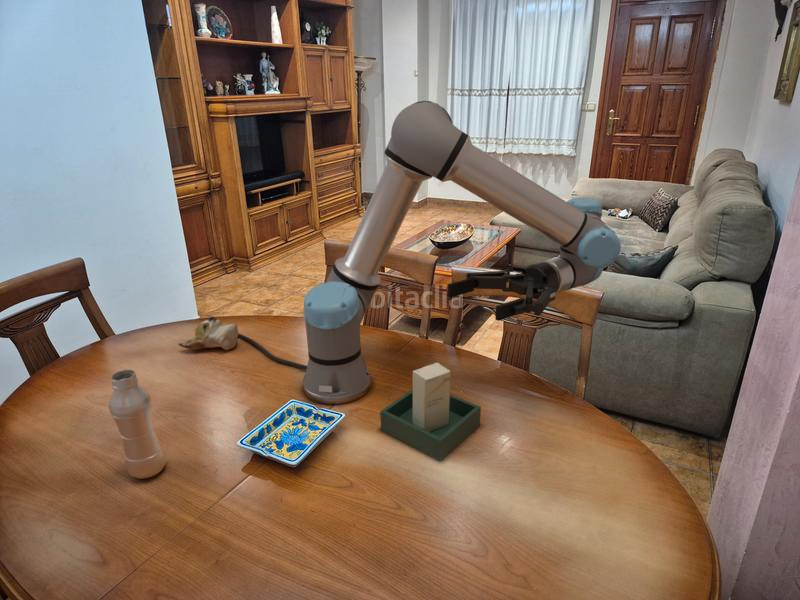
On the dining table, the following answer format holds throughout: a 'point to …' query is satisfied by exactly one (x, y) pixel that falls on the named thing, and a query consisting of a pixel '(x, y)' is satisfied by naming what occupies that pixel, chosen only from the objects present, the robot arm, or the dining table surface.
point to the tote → (437, 441)
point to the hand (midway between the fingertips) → (471, 301)
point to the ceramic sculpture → (213, 335)
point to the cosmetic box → (431, 397)
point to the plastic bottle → (136, 426)
